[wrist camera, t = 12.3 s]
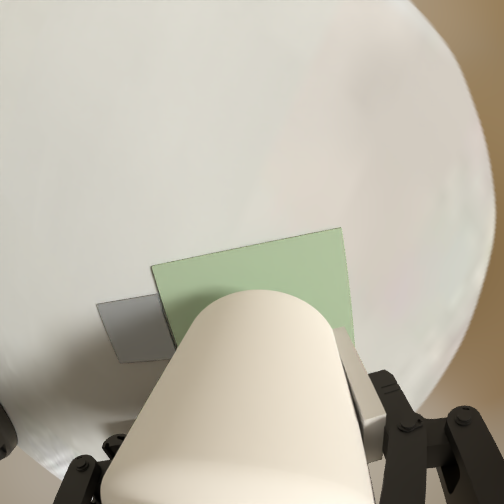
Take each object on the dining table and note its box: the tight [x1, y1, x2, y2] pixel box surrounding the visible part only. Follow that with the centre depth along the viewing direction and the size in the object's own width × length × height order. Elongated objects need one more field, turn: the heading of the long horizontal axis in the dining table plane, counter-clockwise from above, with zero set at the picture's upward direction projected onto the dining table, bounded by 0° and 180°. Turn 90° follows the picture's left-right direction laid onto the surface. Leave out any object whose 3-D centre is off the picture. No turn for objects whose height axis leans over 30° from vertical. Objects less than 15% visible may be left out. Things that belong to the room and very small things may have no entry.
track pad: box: [97, 294, 176, 363], centre depth 19 cm, size 4×4×1 cm
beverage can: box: [100, 290, 376, 504], centre depth 10 cm, size 8×8×12 cm
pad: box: [152, 227, 355, 347], centre depth 18 cm, size 11×11×1 cm
